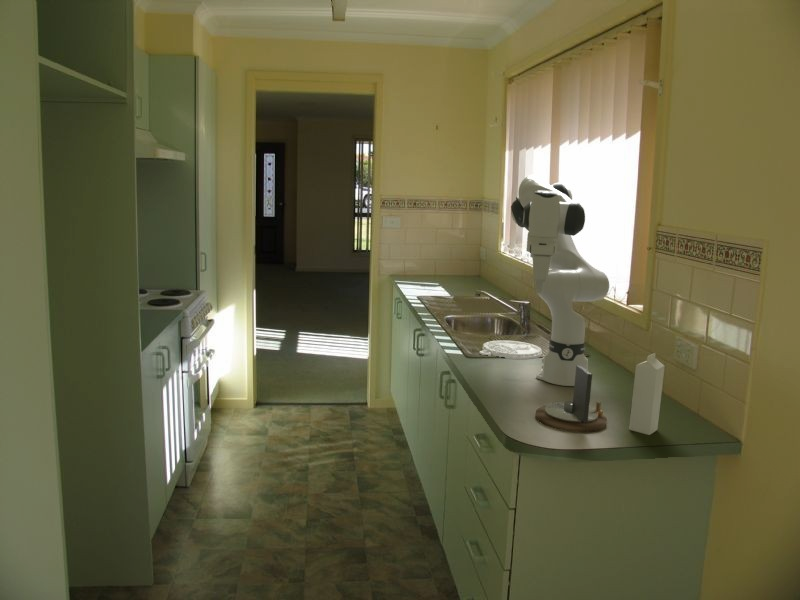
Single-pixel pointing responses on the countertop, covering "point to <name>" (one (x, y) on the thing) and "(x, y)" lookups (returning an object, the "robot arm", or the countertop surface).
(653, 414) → the milk
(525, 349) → the medallion
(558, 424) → the post base
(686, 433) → the countertop surface
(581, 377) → the grey finned round piece
